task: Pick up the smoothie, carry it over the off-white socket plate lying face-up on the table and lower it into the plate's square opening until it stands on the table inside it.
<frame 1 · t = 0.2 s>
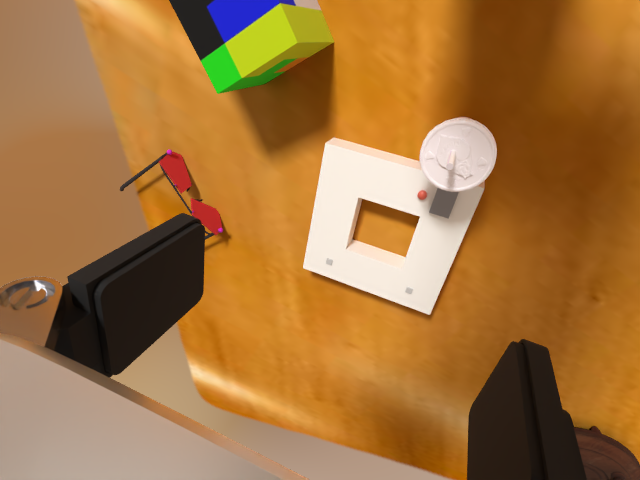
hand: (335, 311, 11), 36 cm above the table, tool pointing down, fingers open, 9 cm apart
socket plate: (385, 224, 48), on the table
glasses: (175, 205, 61), on the table
puzzle toy: (278, 20, 42), on the table
smoothie: (461, 134, 41), on the table
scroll: (572, 453, 54), on the table
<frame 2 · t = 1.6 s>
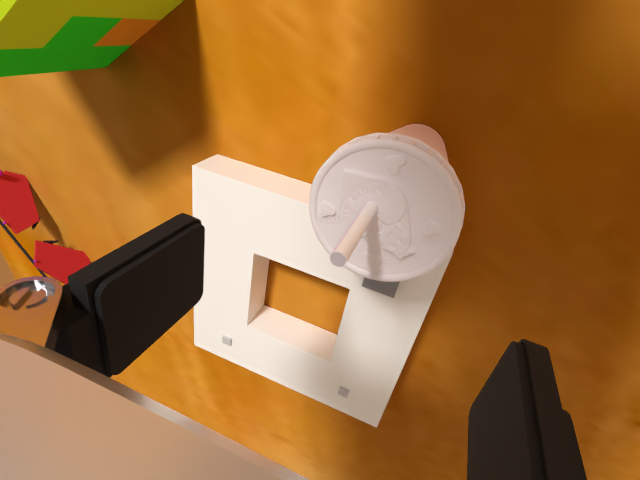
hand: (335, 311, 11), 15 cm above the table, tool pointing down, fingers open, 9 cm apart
socket plate: (308, 287, 31), on the table
glasses: (37, 242, 44), on the table
smoothie: (415, 153, 23), on the table
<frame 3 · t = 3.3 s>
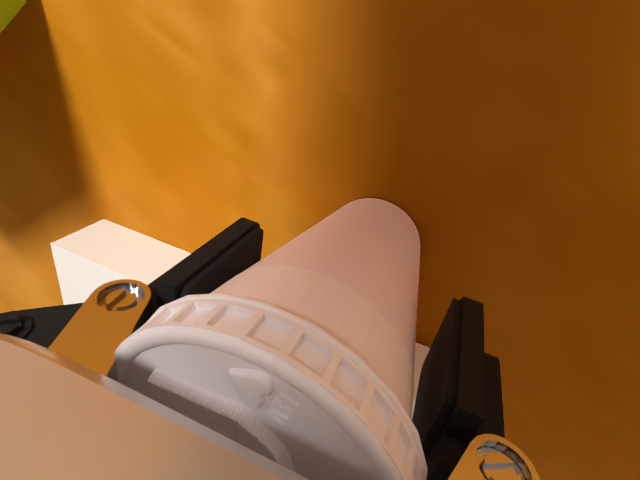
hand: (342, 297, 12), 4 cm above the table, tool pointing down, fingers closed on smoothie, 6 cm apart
socket plate: (239, 396, 23), on the table
smoothie: (374, 240, 15), on the table, touching gripper
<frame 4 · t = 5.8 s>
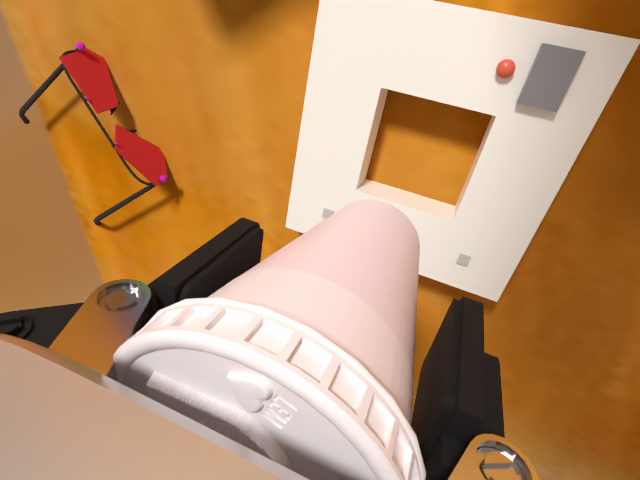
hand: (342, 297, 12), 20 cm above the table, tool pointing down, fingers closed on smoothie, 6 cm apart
socket plate: (423, 147, 29), on the table
glasses: (103, 144, 41), on the table
smoothie: (373, 242, 15), point 16 cm above the table, touching gripper
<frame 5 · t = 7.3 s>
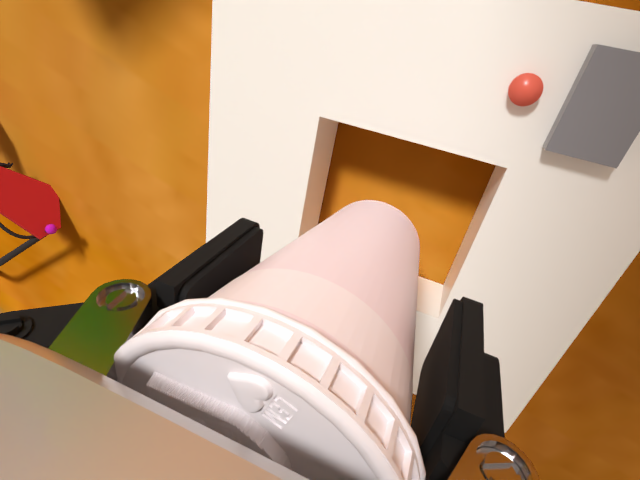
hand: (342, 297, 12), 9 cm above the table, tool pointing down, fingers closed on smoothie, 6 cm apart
socket plate: (395, 200, 19), on the table
smoothie: (373, 242, 15), point 5 cm above the table, touching gripper
when the fingers open (5 cm above the table, at t = 8.6 s): smoothie stays where it is, resting in socket plate.
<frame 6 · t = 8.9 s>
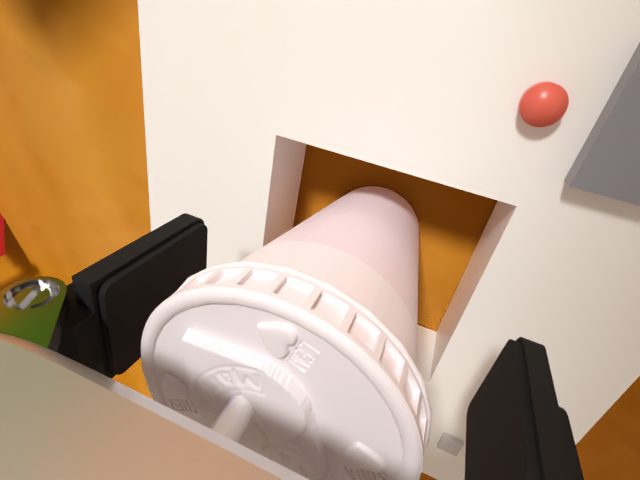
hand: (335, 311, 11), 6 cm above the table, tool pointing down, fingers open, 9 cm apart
socket plate: (377, 233, 16), on the table
smoothie: (375, 226, 16), resting in socket plate
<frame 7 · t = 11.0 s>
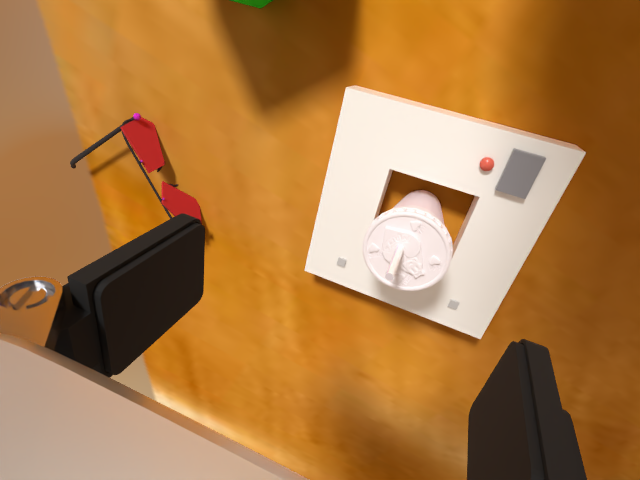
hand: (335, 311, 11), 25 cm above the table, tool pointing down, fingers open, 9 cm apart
socket plate: (422, 211, 35), on the table
glasses: (143, 191, 47), on the table
smoothie: (420, 208, 35), resting in socket plate
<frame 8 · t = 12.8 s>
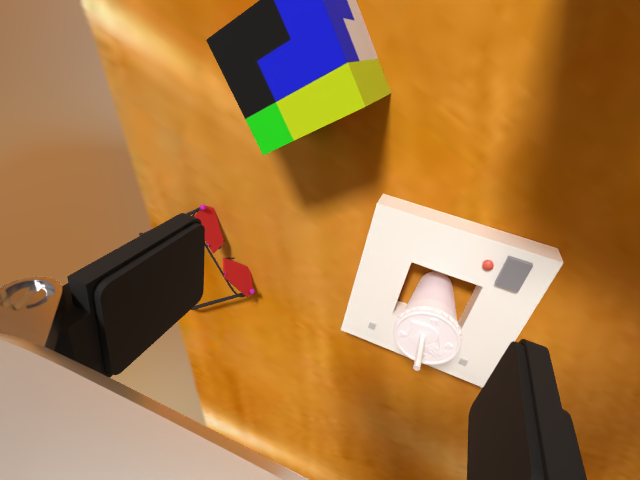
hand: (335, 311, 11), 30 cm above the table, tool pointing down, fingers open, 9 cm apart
socket plate: (437, 287, 44), on the table
glasses: (201, 256, 56), on the table
puzzle toy: (326, 66, 38), on the table
smoothie: (435, 284, 44), resting in socket plate
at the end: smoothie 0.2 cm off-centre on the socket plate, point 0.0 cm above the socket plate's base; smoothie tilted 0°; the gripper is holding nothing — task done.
